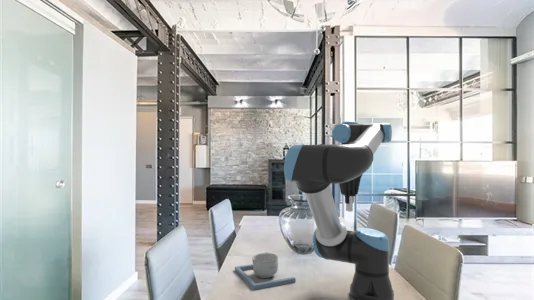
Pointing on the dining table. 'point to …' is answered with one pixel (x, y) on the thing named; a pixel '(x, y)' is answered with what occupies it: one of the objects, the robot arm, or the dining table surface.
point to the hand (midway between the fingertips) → (349, 210)
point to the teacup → (265, 264)
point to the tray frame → (263, 284)
